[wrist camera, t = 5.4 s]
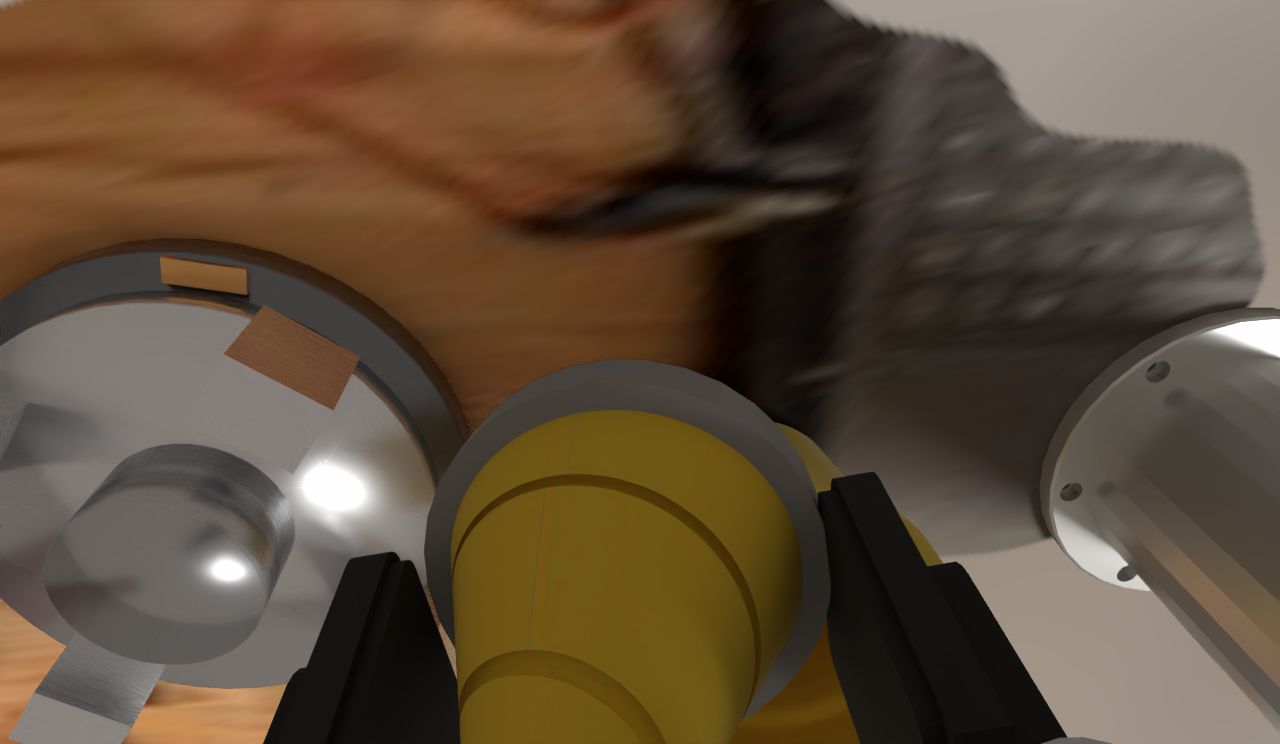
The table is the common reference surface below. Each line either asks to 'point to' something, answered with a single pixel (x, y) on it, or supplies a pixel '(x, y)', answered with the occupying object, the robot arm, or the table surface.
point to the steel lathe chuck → (189, 497)
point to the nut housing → (260, 284)
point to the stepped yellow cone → (625, 560)
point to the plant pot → (813, 654)
